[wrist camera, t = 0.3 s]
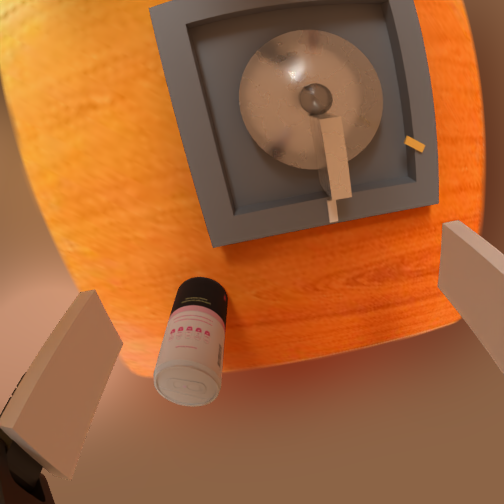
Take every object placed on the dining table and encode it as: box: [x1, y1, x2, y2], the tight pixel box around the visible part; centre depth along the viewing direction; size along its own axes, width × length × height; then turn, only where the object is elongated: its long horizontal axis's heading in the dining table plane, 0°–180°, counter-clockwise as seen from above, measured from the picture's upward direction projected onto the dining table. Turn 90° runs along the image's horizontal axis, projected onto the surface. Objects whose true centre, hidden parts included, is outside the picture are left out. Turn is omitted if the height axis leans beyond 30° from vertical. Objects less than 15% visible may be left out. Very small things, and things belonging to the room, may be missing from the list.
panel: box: [149, 0, 439, 248], centre depth 28 cm, size 26×26×4 cm
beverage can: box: [154, 277, 228, 406], centre depth 34 cm, size 7×6×15 cm
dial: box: [239, 30, 383, 201], centre depth 26 cm, size 16×14×7 cm
